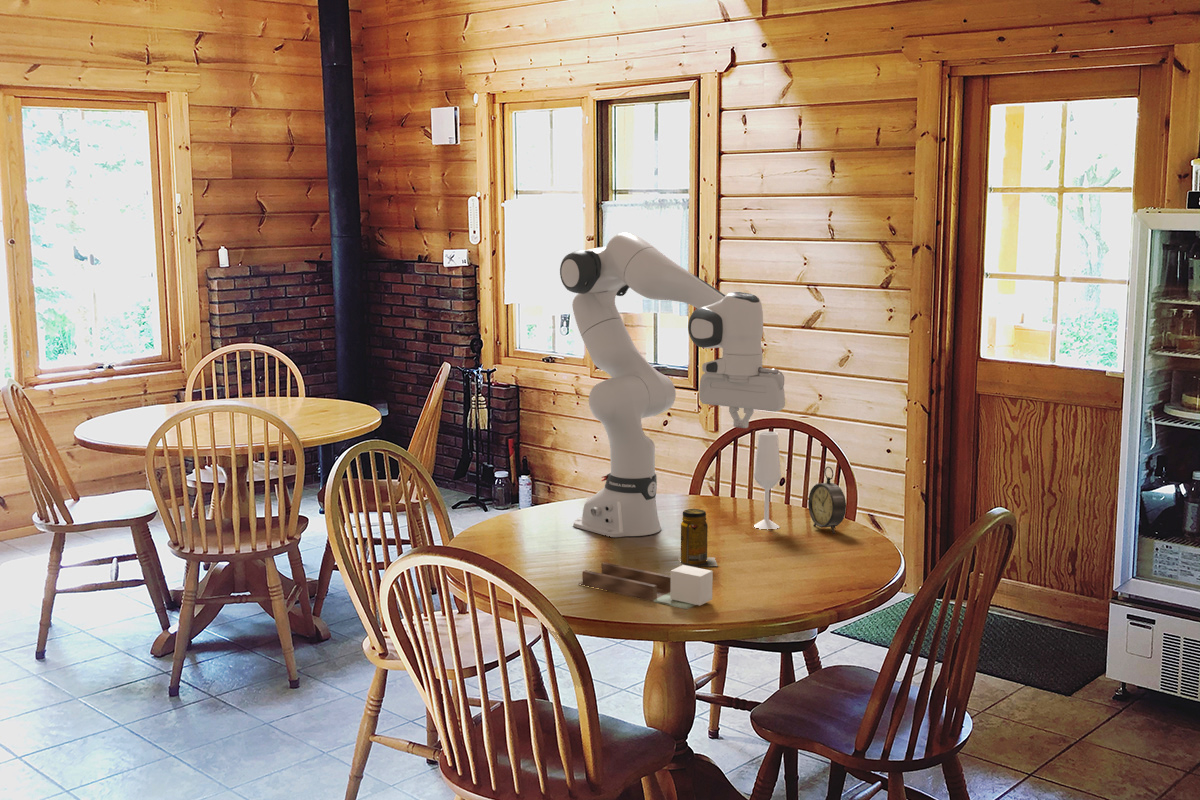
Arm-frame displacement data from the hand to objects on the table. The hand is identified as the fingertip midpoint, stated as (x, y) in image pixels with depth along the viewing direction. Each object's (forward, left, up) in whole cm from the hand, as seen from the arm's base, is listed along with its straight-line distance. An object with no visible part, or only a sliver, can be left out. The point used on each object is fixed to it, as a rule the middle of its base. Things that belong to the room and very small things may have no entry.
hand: (740, 427), depth 263 cm
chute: (-5, -32, -31) cm, 44 cm away
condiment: (-7, -6, -31) cm, 33 cm away
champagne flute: (-9, +30, -31) cm, 44 cm away
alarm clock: (+5, +36, -31) cm, 48 cm away
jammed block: (+7, -31, -30) cm, 44 cm away
